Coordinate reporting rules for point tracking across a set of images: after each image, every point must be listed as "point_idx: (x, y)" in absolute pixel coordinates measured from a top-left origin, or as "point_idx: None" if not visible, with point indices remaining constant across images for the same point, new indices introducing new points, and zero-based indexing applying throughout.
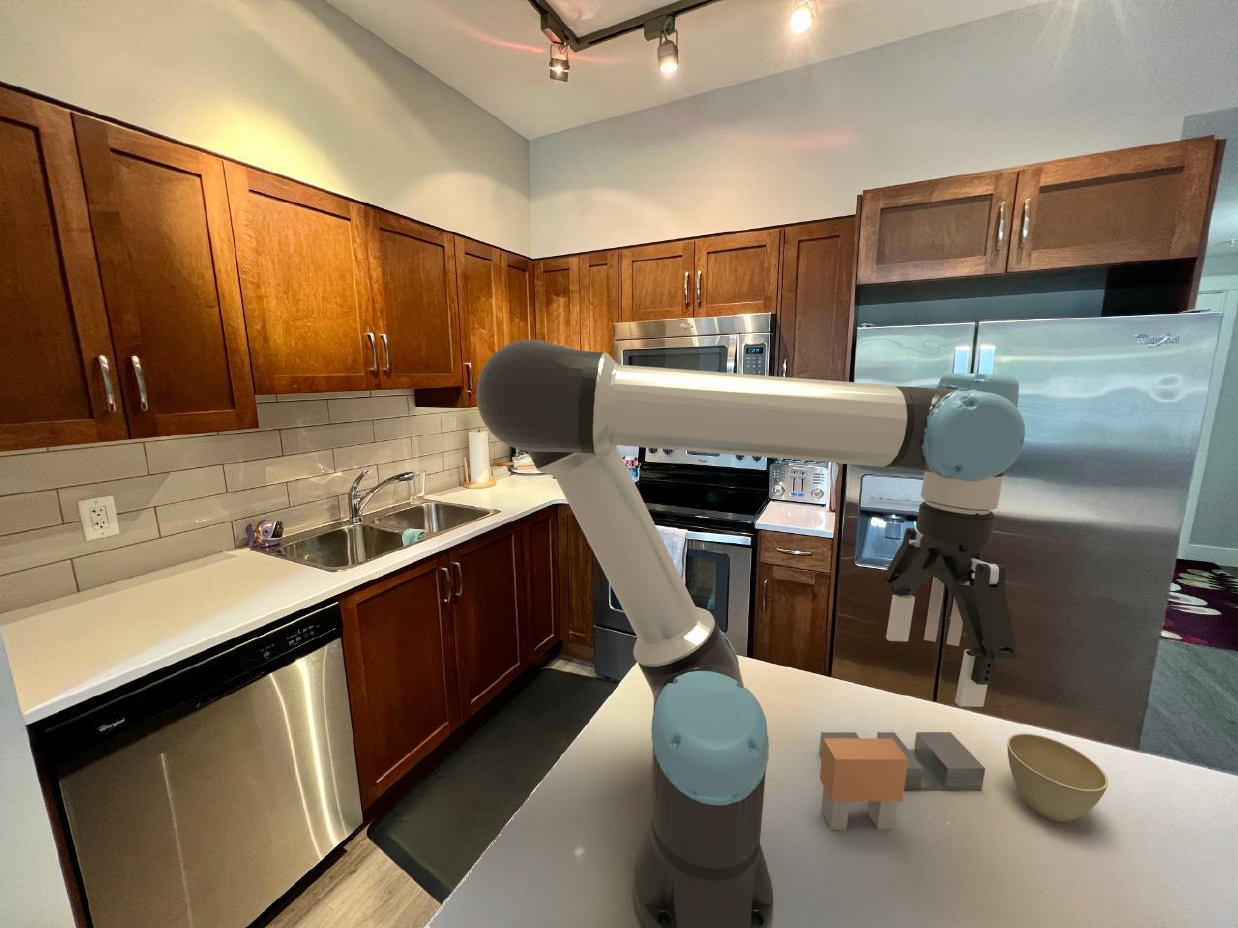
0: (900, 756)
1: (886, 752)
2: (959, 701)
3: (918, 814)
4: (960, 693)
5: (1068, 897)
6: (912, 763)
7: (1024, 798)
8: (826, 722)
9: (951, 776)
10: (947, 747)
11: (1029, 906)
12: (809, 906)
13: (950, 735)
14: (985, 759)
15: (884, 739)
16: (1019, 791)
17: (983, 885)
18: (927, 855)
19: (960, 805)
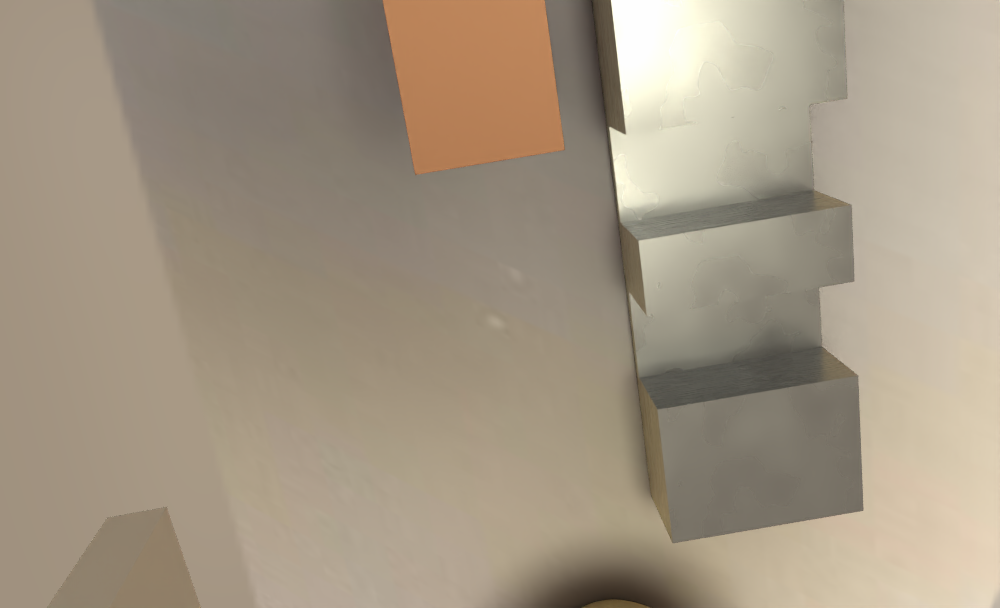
0: (427, 141)
1: (448, 76)
2: (108, 537)
3: (514, 235)
4: (83, 585)
5: (292, 530)
6: (670, 283)
7: (605, 602)
8: (987, 25)
9: (651, 412)
10: (772, 459)
11: (238, 415)
12: None
13: (844, 501)
14: (794, 574)
15: (551, 104)
16: (628, 602)
17: (276, 321)
18: (348, 194)
19: (575, 395)
